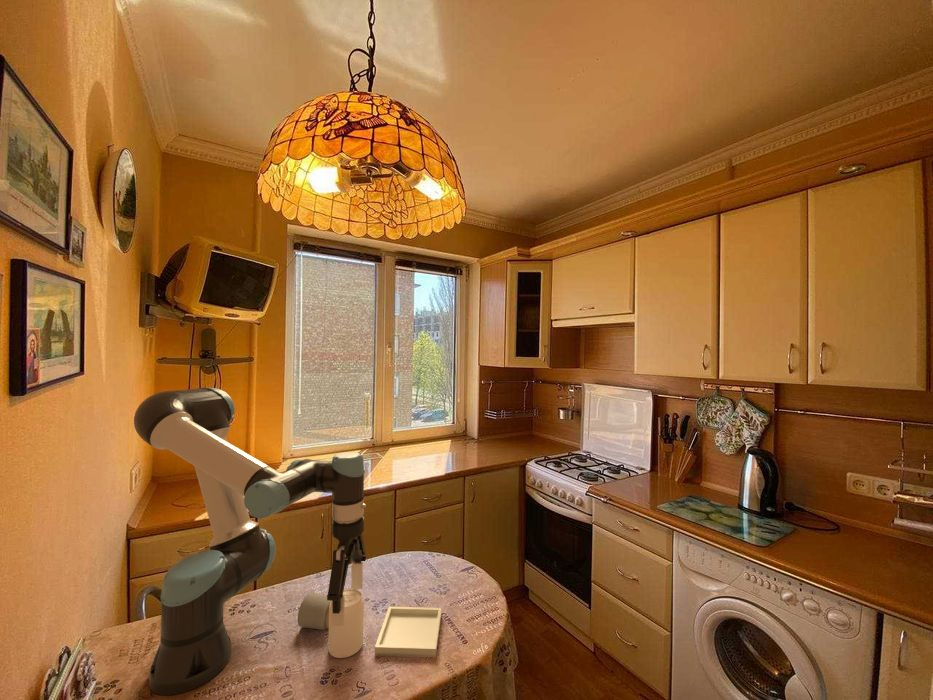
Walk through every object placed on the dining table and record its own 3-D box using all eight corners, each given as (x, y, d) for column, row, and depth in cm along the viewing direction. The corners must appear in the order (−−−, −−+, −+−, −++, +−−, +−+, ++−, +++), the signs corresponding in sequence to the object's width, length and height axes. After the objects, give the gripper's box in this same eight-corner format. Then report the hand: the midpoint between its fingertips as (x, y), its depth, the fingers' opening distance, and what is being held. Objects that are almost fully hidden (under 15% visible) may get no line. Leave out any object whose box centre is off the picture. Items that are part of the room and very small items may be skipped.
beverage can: (326, 641, 94) (327, 593, 94) (359, 631, 97) (360, 584, 98) (330, 665, 87) (331, 612, 87) (366, 653, 90) (367, 602, 91)
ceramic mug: (326, 637, 95) (327, 606, 96) (296, 634, 96) (297, 603, 97) (344, 610, 106) (345, 582, 106) (317, 607, 107) (318, 579, 107)
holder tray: (374, 655, 90) (374, 647, 90) (388, 613, 104) (389, 606, 104) (435, 657, 89) (435, 648, 89) (441, 615, 104) (441, 608, 104)
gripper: (345, 542, 80) (345, 643, 80) (376, 498, 105) (376, 575, 104) (311, 542, 80) (310, 643, 80) (350, 498, 105) (350, 575, 105)
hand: (348, 605), depth 92 cm, fingers open, 13 cm apart
